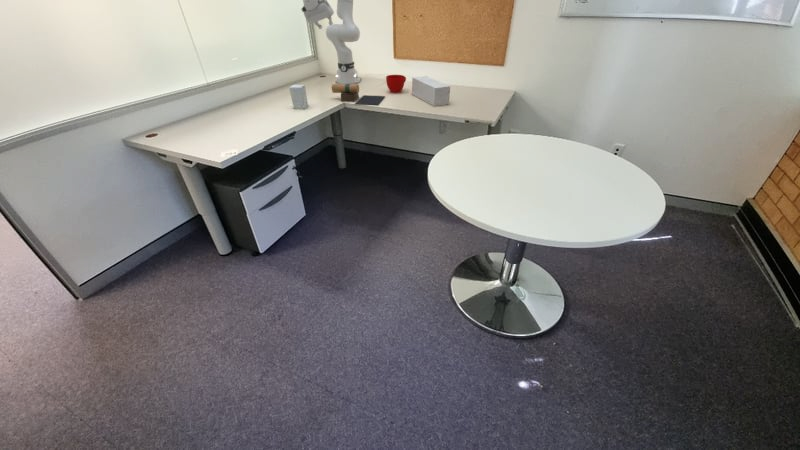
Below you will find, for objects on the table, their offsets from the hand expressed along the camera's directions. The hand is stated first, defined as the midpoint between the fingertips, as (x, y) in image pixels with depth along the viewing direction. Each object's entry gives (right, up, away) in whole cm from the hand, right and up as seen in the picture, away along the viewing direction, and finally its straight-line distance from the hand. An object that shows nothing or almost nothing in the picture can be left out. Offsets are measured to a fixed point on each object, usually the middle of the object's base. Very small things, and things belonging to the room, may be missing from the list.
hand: (326, 26), depth 205 cm
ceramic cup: (+44, -29, +29) cm, 61 cm away
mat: (+27, -42, +11) cm, 51 cm away
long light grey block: (+66, -41, +13) cm, 79 cm away
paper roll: (+11, -35, +9) cm, 38 cm away
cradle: (+13, -41, +13) cm, 45 cm away
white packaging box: (-16, -51, -1) cm, 54 cm away
